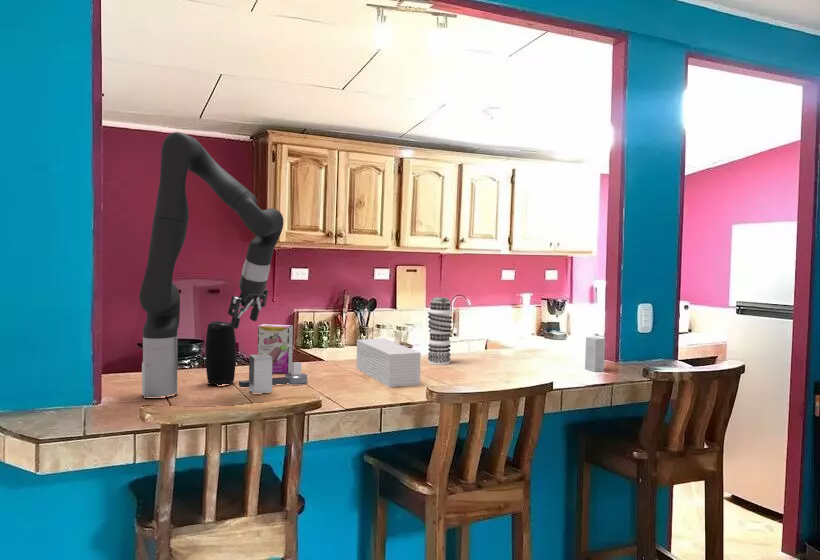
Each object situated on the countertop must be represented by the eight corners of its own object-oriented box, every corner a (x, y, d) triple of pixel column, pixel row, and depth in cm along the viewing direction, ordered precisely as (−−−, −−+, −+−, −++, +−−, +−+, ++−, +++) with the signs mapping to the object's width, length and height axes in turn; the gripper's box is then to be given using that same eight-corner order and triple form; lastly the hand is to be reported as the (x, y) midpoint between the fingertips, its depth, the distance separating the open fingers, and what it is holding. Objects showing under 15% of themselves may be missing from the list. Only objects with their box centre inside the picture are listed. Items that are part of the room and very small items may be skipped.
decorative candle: (423, 361, 246) (425, 296, 245) (446, 360, 249) (447, 296, 248) (431, 365, 238) (432, 298, 236) (454, 364, 240) (456, 298, 239)
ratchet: (243, 390, 192) (243, 369, 192) (237, 386, 198) (237, 365, 198) (310, 384, 203) (310, 364, 202) (302, 379, 209) (303, 360, 208)
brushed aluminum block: (254, 395, 186) (254, 357, 186) (249, 391, 191) (249, 355, 190) (272, 393, 189) (272, 356, 188) (266, 389, 194) (266, 353, 193)
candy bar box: (256, 373, 218) (257, 325, 217) (261, 370, 223) (262, 323, 222) (288, 374, 217) (289, 326, 216) (292, 371, 222) (293, 324, 221)
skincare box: (604, 371, 232) (605, 338, 232) (594, 372, 231) (595, 339, 230) (593, 368, 238) (594, 336, 237) (584, 368, 236) (585, 336, 236)
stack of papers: (356, 369, 229) (356, 339, 228) (384, 367, 233) (384, 338, 233) (389, 388, 200) (389, 354, 199) (420, 385, 204) (420, 352, 203)
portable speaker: (240, 382, 203) (241, 321, 202) (223, 388, 194) (223, 324, 193) (217, 379, 206) (218, 319, 205) (199, 385, 197) (200, 323, 196)
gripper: (260, 265, 192) (249, 312, 197) (228, 274, 179) (217, 324, 184) (280, 275, 189) (268, 323, 195) (249, 285, 177) (237, 335, 182)
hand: (243, 323), depth 189 cm, fingers open, 8 cm apart
